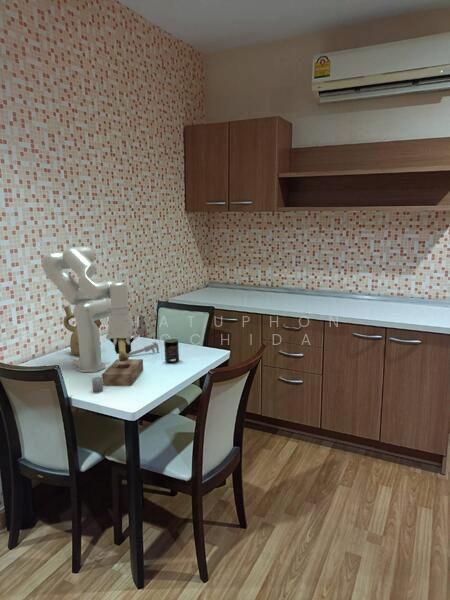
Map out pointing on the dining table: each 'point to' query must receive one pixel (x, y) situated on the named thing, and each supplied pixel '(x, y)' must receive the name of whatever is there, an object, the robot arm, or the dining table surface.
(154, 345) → the caliper
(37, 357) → the dining table surface
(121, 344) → the long pin
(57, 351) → the dining table surface
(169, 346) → the supplement container
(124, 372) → the hole block
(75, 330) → the ceramic vessel
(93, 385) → the short pin
